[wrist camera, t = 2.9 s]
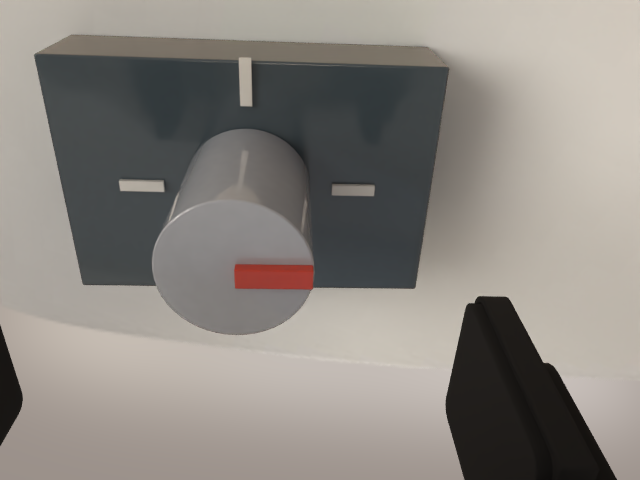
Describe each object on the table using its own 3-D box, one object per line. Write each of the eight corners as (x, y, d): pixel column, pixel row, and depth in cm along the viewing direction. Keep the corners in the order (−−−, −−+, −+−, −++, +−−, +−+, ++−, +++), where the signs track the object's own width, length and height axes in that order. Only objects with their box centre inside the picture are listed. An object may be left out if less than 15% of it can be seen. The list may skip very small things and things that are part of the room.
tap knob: (191, 239, 19) (157, 342, 14) (181, 126, 17) (138, 204, 12) (308, 241, 19) (312, 344, 15) (312, 129, 17) (317, 207, 13)
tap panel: (107, 244, 22) (81, 290, 20) (69, 31, 18) (29, 51, 16) (401, 249, 23) (415, 294, 20) (429, 43, 19) (452, 65, 16)
